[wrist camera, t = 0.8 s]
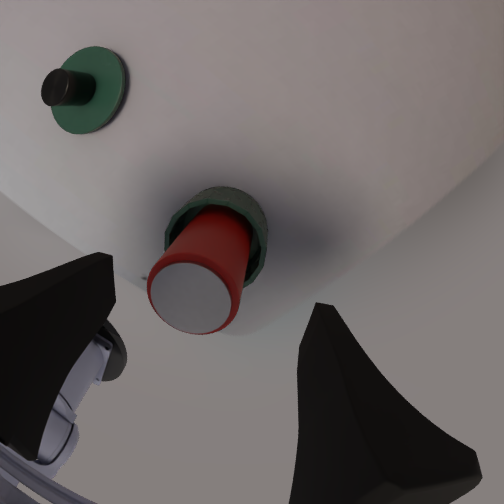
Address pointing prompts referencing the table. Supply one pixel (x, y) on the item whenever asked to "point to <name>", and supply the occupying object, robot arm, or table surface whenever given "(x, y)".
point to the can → (203, 272)
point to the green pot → (238, 203)
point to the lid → (85, 90)
